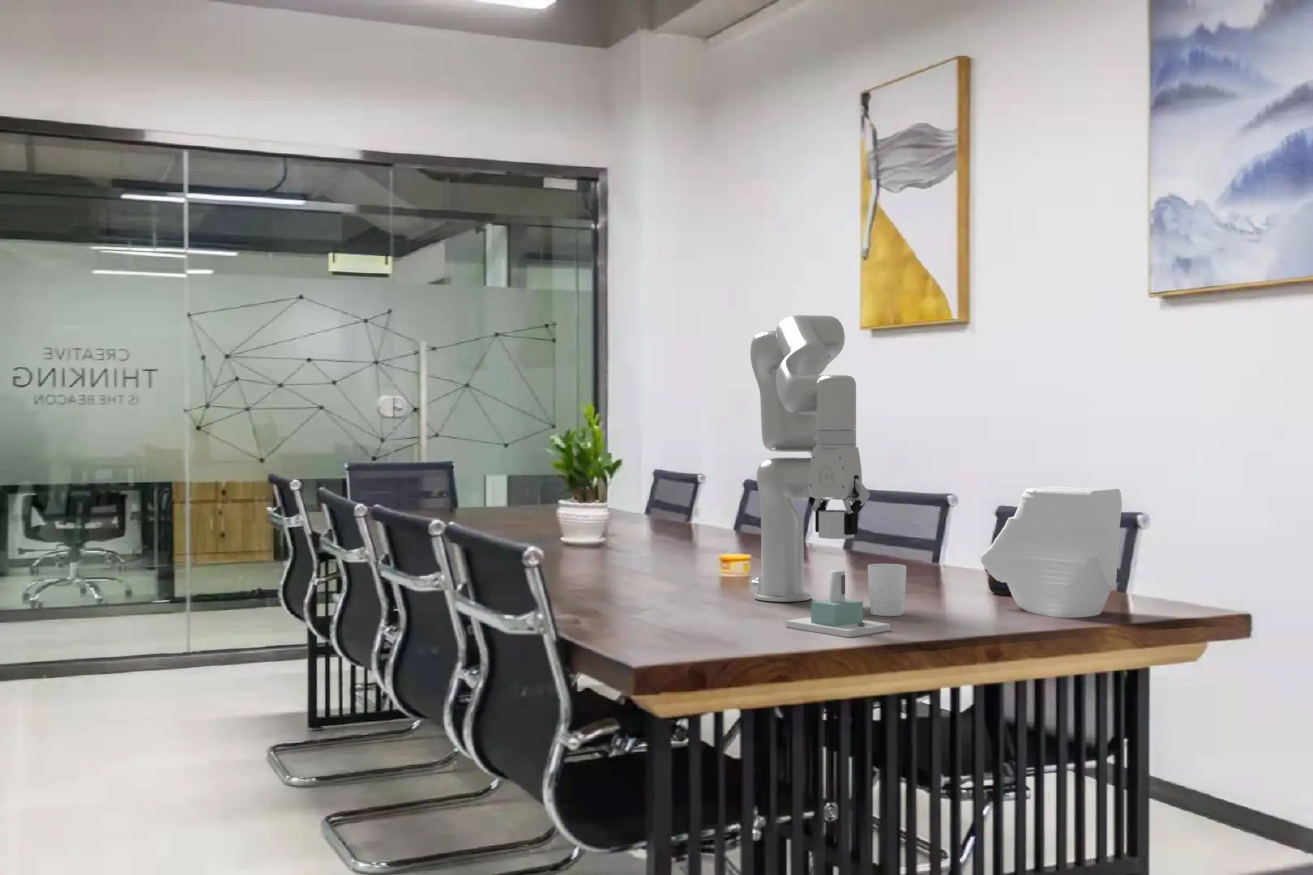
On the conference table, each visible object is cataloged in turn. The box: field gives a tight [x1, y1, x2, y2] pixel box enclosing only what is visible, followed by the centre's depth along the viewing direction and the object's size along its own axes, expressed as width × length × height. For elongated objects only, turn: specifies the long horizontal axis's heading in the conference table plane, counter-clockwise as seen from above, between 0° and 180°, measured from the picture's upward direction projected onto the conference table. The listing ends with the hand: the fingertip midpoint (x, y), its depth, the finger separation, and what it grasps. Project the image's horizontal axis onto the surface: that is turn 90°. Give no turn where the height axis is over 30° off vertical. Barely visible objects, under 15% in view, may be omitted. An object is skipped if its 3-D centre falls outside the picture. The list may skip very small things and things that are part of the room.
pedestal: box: [784, 569, 891, 638], centre depth 245 cm, size 16×12×11 cm
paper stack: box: [979, 485, 1123, 619], centre depth 269 cm, size 21×27×26 cm
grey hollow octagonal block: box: [818, 509, 855, 540], centre depth 245 cm, size 7×7×5 cm
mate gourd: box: [987, 573, 1012, 596], centre depth 293 cm, size 7×8×10 cm
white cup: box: [867, 563, 907, 617], centre depth 263 cm, size 8×8×10 cm
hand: (836, 532), depth 245 cm, fingers closed on grey hollow octagonal block, 6 cm apart
